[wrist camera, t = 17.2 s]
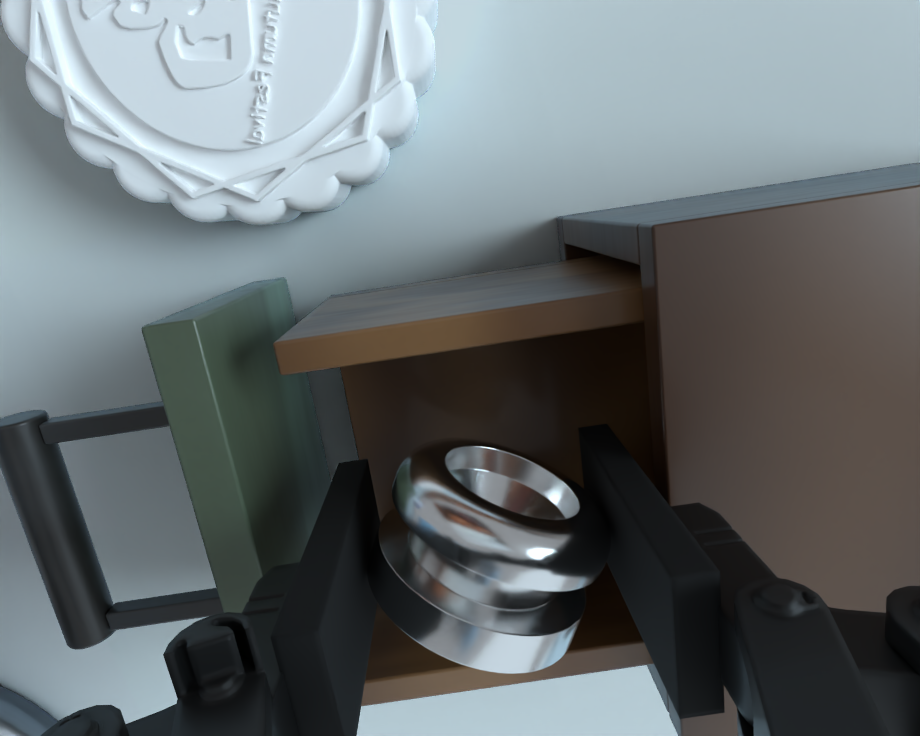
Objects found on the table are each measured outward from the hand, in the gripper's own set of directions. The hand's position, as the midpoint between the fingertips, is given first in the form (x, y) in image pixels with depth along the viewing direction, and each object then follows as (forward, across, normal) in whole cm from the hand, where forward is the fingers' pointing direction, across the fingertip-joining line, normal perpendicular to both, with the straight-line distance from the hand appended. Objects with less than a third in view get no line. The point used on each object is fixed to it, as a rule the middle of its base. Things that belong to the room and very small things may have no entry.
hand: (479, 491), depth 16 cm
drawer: (+6, -2, 0) cm, 7 cm away
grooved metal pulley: (+1, 0, 0) cm, 1 cm away
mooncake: (+7, -5, +14) cm, 16 cm away
